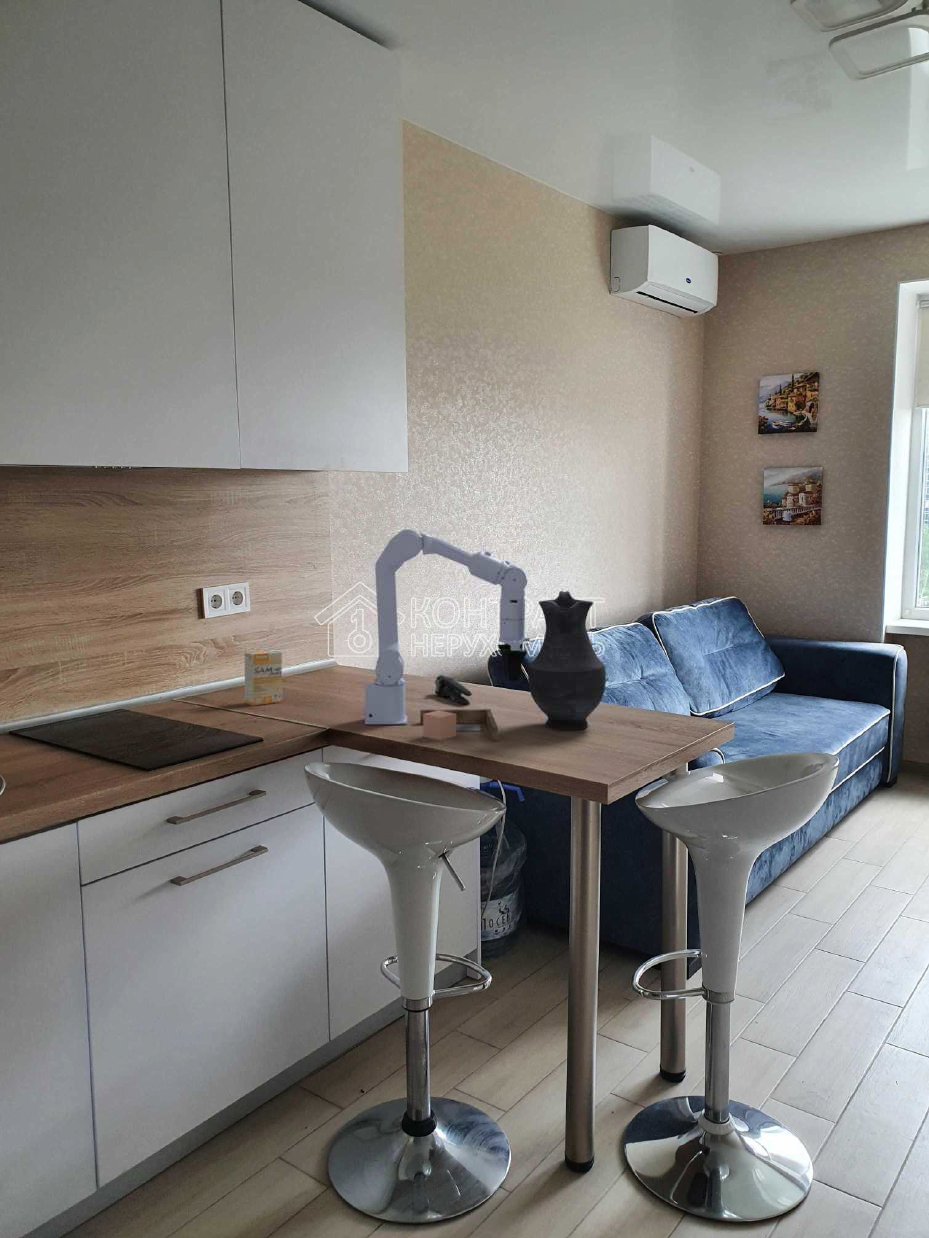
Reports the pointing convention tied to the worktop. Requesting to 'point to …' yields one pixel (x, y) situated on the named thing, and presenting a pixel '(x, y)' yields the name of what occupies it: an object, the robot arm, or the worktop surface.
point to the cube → (439, 725)
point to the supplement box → (263, 677)
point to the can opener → (451, 689)
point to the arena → (471, 720)
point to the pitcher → (566, 666)
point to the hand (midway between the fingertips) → (511, 677)
